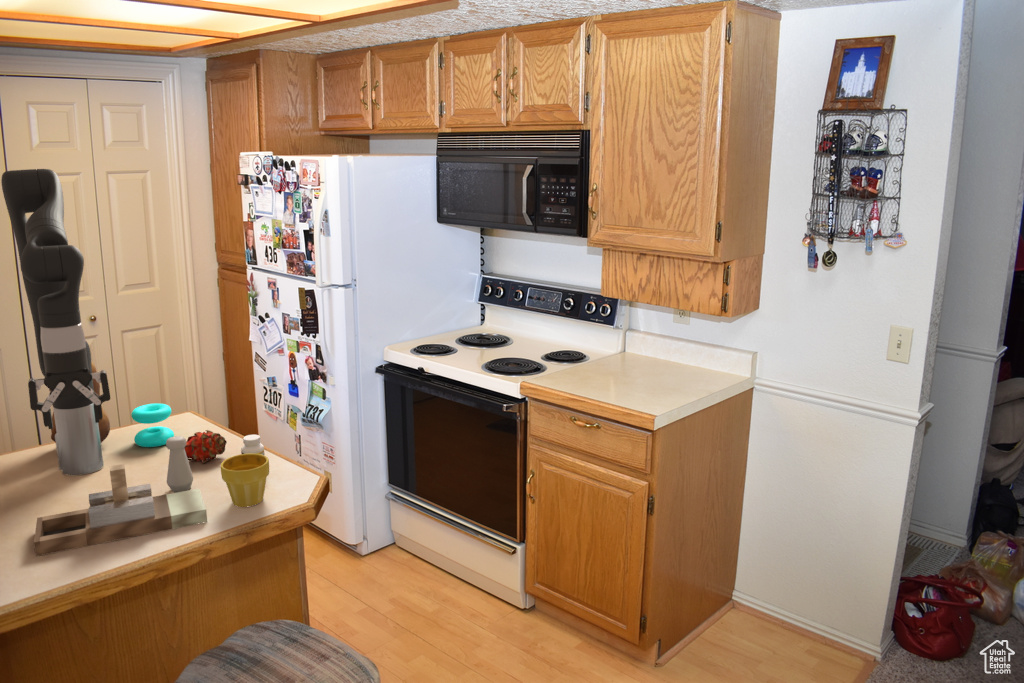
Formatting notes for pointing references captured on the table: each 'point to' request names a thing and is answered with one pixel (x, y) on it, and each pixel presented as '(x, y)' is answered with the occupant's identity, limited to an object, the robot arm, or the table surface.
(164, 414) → the donuts
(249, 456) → the plant pot
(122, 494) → the slider block
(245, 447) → the supplement bottle
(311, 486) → the table surface
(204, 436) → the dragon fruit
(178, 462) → the salt shaker
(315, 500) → the table surface
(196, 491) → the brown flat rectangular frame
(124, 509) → the grey slotted block
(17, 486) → the table surface
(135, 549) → the table surface
